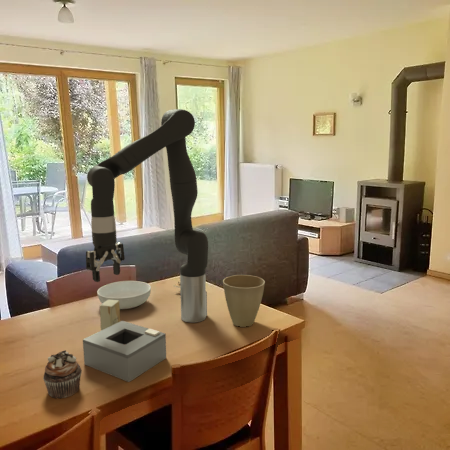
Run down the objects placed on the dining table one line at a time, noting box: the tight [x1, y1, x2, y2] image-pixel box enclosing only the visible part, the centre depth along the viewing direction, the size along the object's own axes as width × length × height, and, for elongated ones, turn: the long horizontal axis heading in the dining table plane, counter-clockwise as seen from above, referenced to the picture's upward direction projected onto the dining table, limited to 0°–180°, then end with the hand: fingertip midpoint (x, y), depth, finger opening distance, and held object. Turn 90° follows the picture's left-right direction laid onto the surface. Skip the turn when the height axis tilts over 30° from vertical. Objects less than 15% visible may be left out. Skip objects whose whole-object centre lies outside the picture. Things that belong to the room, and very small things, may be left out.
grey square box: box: [82, 320, 167, 383], centre depth 133 cm, size 16×18×9 cm
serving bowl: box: [96, 280, 152, 310], centre depth 178 cm, size 21×21×7 cm
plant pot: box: [222, 274, 266, 328], centre depth 160 cm, size 15×15×16 cm
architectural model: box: [172, 276, 181, 292], centre depth 192 cm, size 3×7×7 cm, turn 54°
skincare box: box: [99, 300, 121, 331], centre depth 149 cm, size 6×4×12 cm
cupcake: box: [42, 350, 83, 399], centre depth 118 cm, size 10×10×10 cm
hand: (107, 277), depth 146 cm, fingers open, 8 cm apart
